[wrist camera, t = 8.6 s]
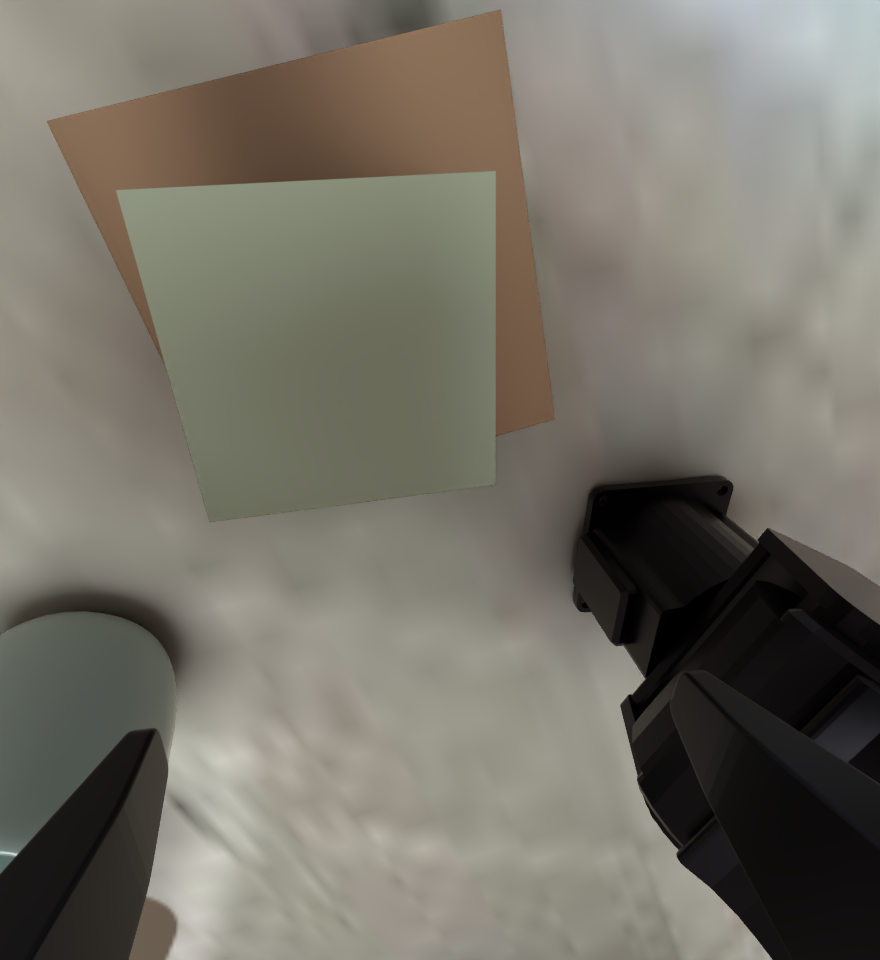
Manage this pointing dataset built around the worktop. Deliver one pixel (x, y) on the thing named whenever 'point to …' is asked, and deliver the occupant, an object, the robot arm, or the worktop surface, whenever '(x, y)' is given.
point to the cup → (72, 709)
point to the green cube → (326, 334)
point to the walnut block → (339, 156)
